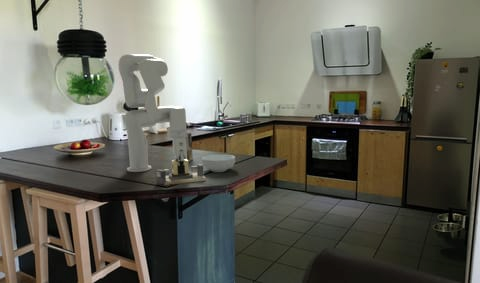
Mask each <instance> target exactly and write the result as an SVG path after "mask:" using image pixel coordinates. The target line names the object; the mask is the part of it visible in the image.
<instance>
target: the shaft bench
mask: <svg viewBox="0 0 480 283" xmlns="http://www.w3.org/2000/svg"><path fill="white" fill-rule="evenodd" d="M190 169H191V170H190V171H191V172H190V171H189V173H186V174H177V175H174V174H173V173H172V172H171V173H170V171H171V170H170V168H169V169H168V168H164V169H161V168H160V169H159V168H158V169H155V178H156V184H157V185H161V184H162V185H161V186H169V185H170V184H172V185H178V184H188V183H194V182H202V181H203V182H204V181H206V180H207V178H206V176H204V165H203V163H197V164H196V165H191V167H190ZM163 184H164V185H163Z"/></svg>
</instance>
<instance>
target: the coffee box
mask: <svg viewBox="0 0 480 283" xmlns="http://www.w3.org/2000/svg"><path fill="white" fill-rule="evenodd" d="M192 138H193V137H192V132H187V137H185V140H186V148H187V160H188V163H190V162H191V161H192V160H194V157H193V155H194V154H193V140H192ZM184 159H186V158H184Z"/></svg>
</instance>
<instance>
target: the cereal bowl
mask: <svg viewBox="0 0 480 283" xmlns="http://www.w3.org/2000/svg"><path fill="white" fill-rule="evenodd" d="M201 161H202V162H201V163H202V165H203V168H205V169H207V170H209V171H211V172H213V173H224V172H226V171H228V170H229V169H232V167H233V166H234V165H235V163H236V156H235V155H232V154H211V155H206V156H202V159H201Z"/></svg>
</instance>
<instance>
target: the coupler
mask: <svg viewBox="0 0 480 283" xmlns="http://www.w3.org/2000/svg"><path fill="white" fill-rule="evenodd" d="M179 161H181V160H179ZM189 163H190V162H188V160H187V159H184V165H185V173H184V174H186V173H189V172H190V170H189V167H190V164H189ZM170 167H171V173H173V174H174V175H177V174H178V160H175V159H172V160H171V165H170Z"/></svg>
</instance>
